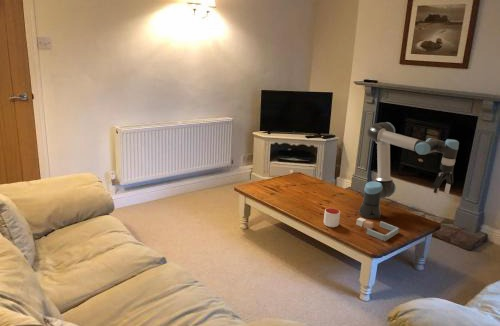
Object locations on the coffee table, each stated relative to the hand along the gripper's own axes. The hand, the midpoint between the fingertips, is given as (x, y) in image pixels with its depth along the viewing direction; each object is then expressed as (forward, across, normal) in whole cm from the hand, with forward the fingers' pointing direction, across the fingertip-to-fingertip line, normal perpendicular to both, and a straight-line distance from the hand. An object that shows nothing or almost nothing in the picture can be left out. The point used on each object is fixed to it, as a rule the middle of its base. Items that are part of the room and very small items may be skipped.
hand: (440, 195), depth 265 cm
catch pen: (+26, -32, +16) cm, 44 cm away
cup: (+27, -52, +42) cm, 72 cm away
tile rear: (+27, -34, +32) cm, 54 cm away
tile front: (+27, -34, +26) cm, 50 cm away
